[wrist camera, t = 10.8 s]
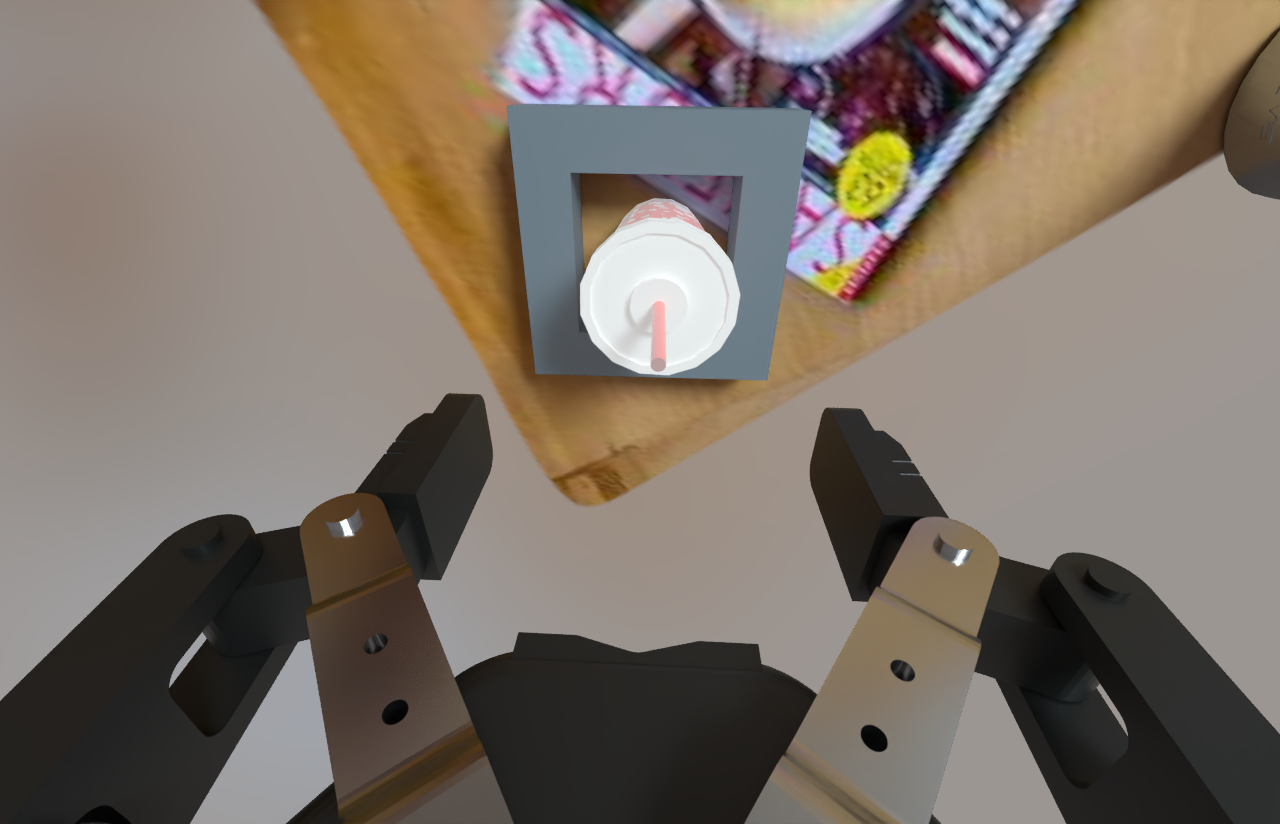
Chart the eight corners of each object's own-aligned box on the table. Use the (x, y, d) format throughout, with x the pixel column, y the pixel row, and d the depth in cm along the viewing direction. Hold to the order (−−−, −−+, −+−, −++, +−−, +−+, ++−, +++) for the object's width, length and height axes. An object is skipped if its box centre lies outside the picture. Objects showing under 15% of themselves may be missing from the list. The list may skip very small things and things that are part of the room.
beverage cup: (683, 155, 25) (703, 217, 13) (737, 265, 28) (794, 398, 16) (579, 222, 27) (513, 329, 15) (639, 318, 29) (624, 474, 18)
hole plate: (795, 108, 24) (811, 110, 21) (758, 355, 30) (767, 380, 28) (523, 103, 24) (506, 105, 21) (545, 350, 31) (535, 374, 28)
